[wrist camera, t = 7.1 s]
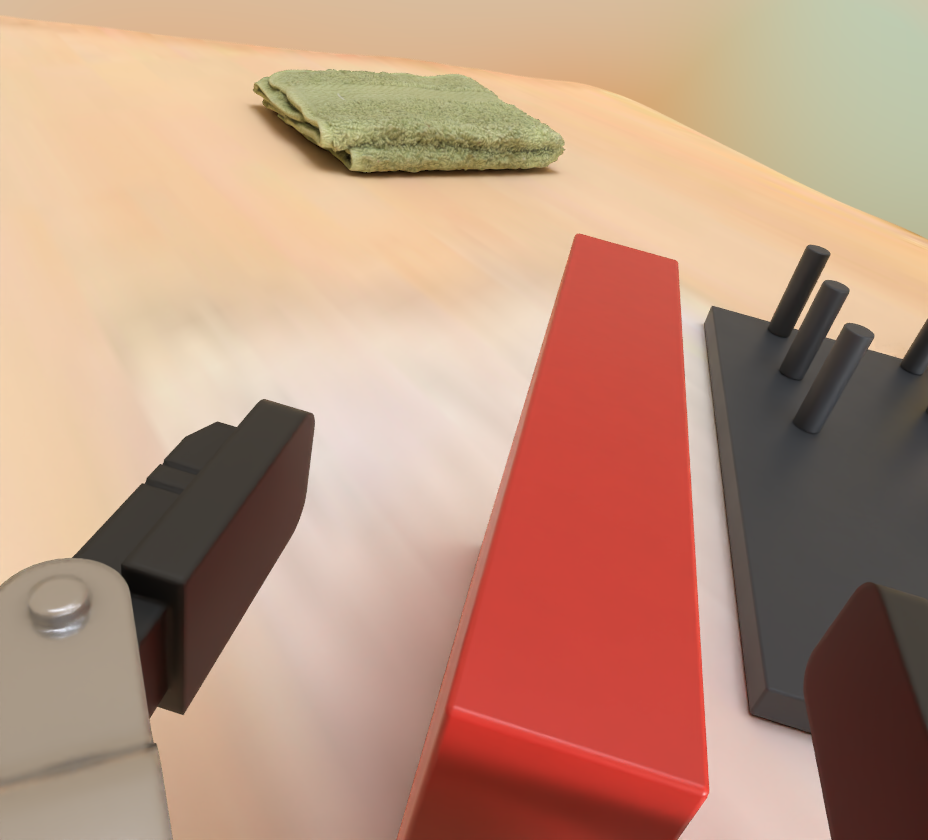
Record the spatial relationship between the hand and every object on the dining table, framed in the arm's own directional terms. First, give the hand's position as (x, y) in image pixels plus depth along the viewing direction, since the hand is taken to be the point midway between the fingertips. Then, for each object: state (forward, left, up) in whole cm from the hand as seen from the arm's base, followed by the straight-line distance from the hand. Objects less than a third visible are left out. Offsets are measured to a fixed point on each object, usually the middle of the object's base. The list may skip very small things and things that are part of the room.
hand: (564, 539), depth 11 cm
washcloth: (+13, -42, -7) cm, 45 cm away
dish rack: (-12, -15, -7) cm, 21 cm away
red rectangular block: (0, -1, -7) cm, 7 cm away
